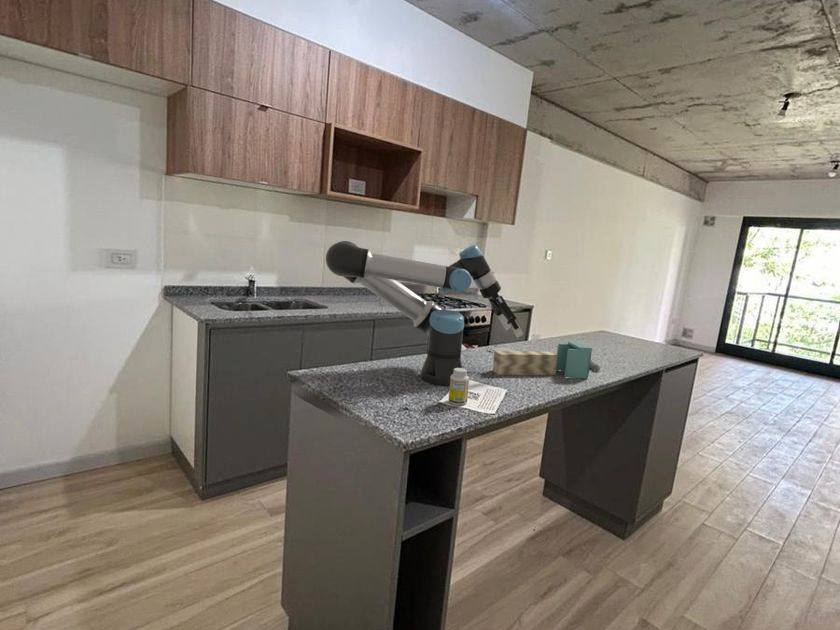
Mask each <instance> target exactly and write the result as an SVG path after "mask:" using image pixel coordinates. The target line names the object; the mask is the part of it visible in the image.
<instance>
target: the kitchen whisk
mask: <svg viewBox="0 0 840 630" xmlns="http://www.w3.org/2000/svg"><path fill="white" fill-rule="evenodd" d="M589 369H591V370H592V371H594V370H595V371H594V372H597V371H598V373H601V371H600V370H601V368H600V366H599V364H597V363H596V362H594V360H592V359H591V360H590V367H589Z"/></svg>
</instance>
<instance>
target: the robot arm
mask: <svg viewBox="0 0 840 630" xmlns="http://www.w3.org/2000/svg"><path fill="white" fill-rule="evenodd" d="M458 255H459V259H458V260H456V261H455V262H454V263H452V264H450V265H449V266H448V265H442V264H436V263H430V262H426V261H419V260H414V259H408V258H407V259H406V258H402V257H396V256H391V255H384V254H380V253H374V252H372V251H371V250H370V249H367V248H363V247H359V246H358V245H357V244H355V243H353V242H351V241H349V240H341V241H337V242H335V243H334V244H332V245H330V247H329V248H328V249H327V252H326V253H325V263H326V265H327V268H328V269H329V271H330V272H332V274H334V275H336V276H339V277H343V278H345V280H347V281H348V282H350V283H351V284H353V285H354V284H360V285H362V286H363V287H364V288H366V289H367V290H368V291H371V292H372V293H373V294H374V295H376V296H377V297H379V298H381V299H382V300H383V301H385V302H386V303H388V304H389V305H391V306H392V307H393V308H395V309H396V310H397V311H399V312H401V313H402V314H403V315H405V316H406V317H408V318H409V319H410V320H412V321H413V326H414V327H415V328H416V329H417V330H419V331H420V332H422V333H423V334H425V335H426V336H427V337H428V339H427V340H428V341H427V352H426V353H427V354H426V357H425V359H424V362H423V365H422V367H421V370H420V379H421V380H423V381H425V382H427V383H430V384H434V385H439V386H450V377H451V375H452V374H453V372H454V369H455V368H463V365H462V358H461V357H462V347H463V336H464V328H465V317H464V316H463V315H462V314H461V313H460V312H458V311H455V310H450V309H446V308H443V307H442V306H440V304H438V303H436V302H435V301H433V300H429V301H426V300H425V299H424V298H422V297H421V296H420V295H418V294H417V293H415V292H414V291H412V290H411V289H409V287H407V286H405V285H404V284H402V282H404V283H411V284H417V285H423V286H429V287H434V288H435V287H436V288H440V290H441V291H442V292H444V293H445V292H448V291H450V290H453V291H454V292H456V293H457V292H460V293H461V292H462V293H463V292H465V291H468V289H470V287H471V285H472V283H474V284H475V286H476V287H477V289H478V291H479V292H480V295H481V296H482V298H484V299H488V301H489V303H490V306H491V308H492V310H493V313H494V314H495V315H496V316H497V318H498V319H499V321H500V323H501V324H502V326H503V329H504V330H505V331H508V330H509V329H511V330H512V332H513V334H514V335H515V337H516V338H517V339H518V338H521V336H523V335H524V332H523V330H522V329H521V327H520V325H519V323H518V322H517V317H516V315H515V313H513V311H512V310H511V308H510V307H509V305H508V304H507V301H506V300H505V299H504V297H503V295H499V293H500V291H501V290H502V286H501V285H500V284H499V283H500V282H499V281H498V280H496V279H497V278H496V276H495V275H494V274H495V271H494V270H491V267H490V265H489V264H488V262H487V260H486V258H485V256H484V254H483V253H482V251H481V250H480V248H479V247H478V245H476V244H473V245H469V246H468V247H466V248H465V249H463V250H462V251H460V252H459V254H458ZM463 369H464V368H463Z"/></svg>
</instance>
